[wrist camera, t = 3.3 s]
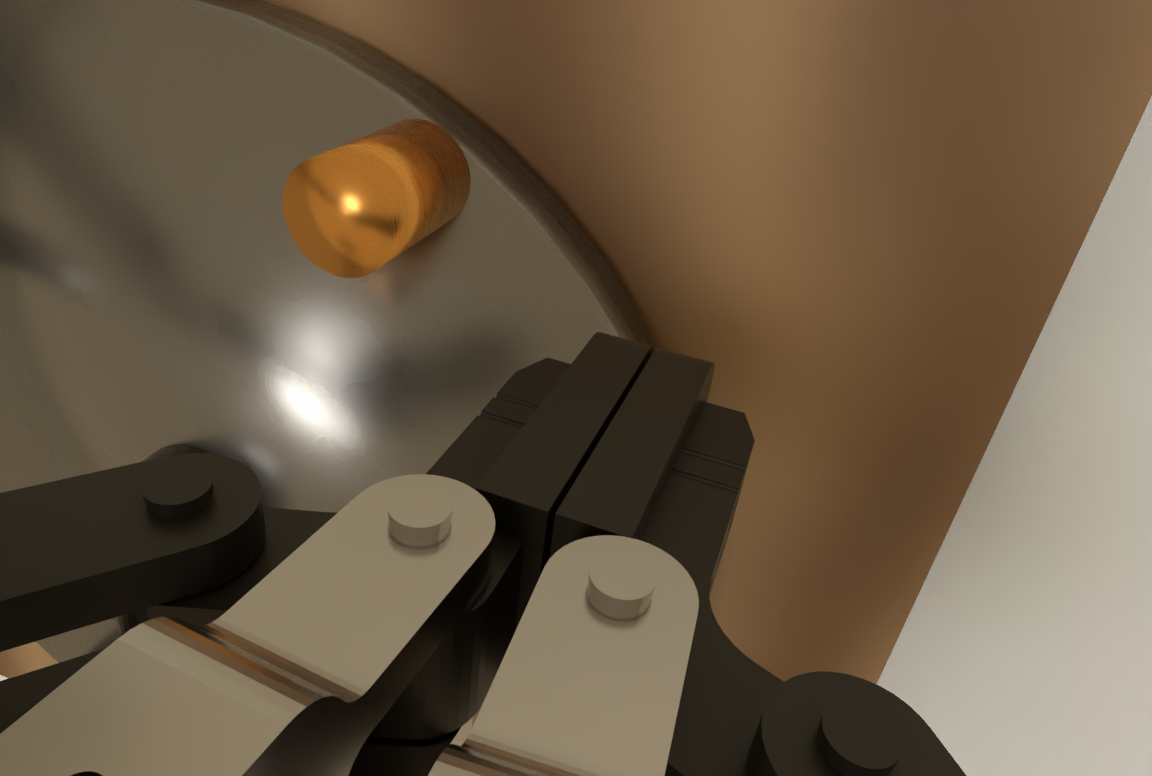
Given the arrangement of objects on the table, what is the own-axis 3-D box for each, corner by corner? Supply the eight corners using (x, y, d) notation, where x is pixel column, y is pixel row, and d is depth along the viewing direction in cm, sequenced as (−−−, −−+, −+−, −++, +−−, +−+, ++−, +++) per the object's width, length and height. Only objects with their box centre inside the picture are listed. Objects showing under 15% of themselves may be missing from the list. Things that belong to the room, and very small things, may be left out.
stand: (-26, 622, 35) (-89, 670, 32) (-359, -311, 19) (-529, -341, 17) (739, 945, 28) (724, 1035, 26) (1211, -105, 12) (1280, -109, 10)
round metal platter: (8, 637, 30) (-106, 728, 27) (-238, -102, 18) (-500, -105, 15) (619, 895, 25) (575, 1048, 22) (841, 113, 13) (817, 184, 10)
